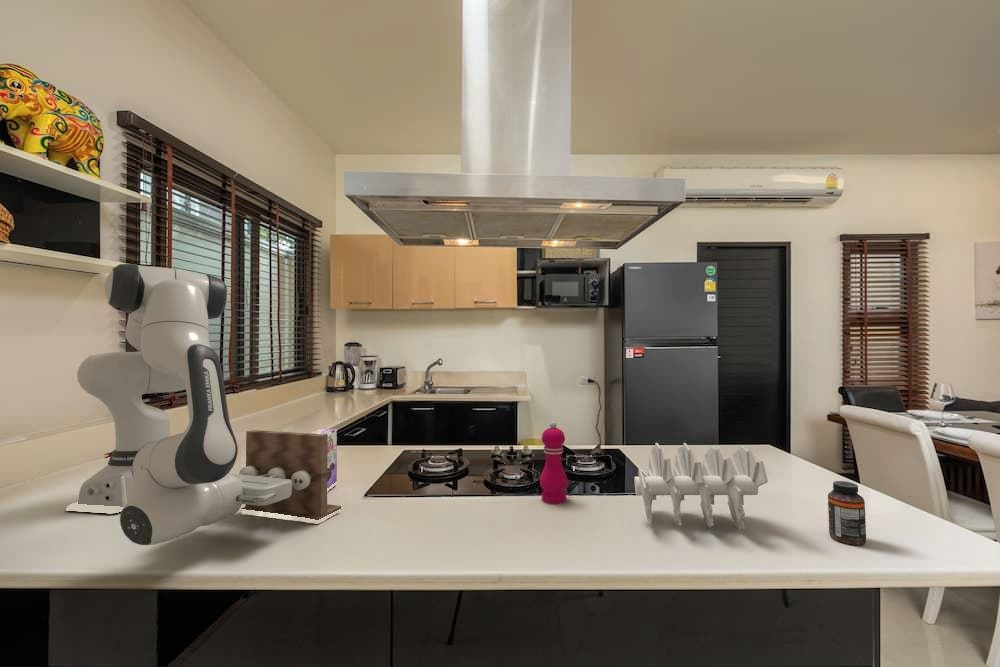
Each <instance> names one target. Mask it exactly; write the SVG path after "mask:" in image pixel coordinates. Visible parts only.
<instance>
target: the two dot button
mask: <svg viewBox="0 0 1000 667" xmlns="http://www.w3.org/2000/svg"><path fill="white" fill-rule="evenodd" d="M311 479H312V473H310V474H308V472H306V471H304V470H301V471H298V472H296V473H294V474H293V475H292V477H291V481H292V486H293V488H294V489H296V490H302V489H304V488H307V487H308V486H309V484H310V480H311Z"/></svg>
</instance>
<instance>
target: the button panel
mask: <svg viewBox="0 0 1000 667" xmlns="http://www.w3.org/2000/svg"><path fill="white" fill-rule="evenodd" d="M310 433H311V432H309V433H308V432H307V433H305V432H293V431H277V430H275V431H273V430H260V429H259V430H258V429H252V430H246V435H245V437H246V438H245V439H246V440H245V441H246V442H245V467H247V466H254V467H255V468H256V470H257V469H260V468H261V474H259V475H258V476H261V475H266V474H268V472H269V470H271V469H273V468H276V467H281V468H282V469H284V471H286V479H290V480H291V477H292V475H293V474H294V473H296V472H298V471H301V470H304V471H306V472H308V474H310V473H312V479H311V480H310V484H309V486H308V487H307V488H304V489H302V490H296V489H294V488H293V486H292V494H291V496H290V497H289V498H287V499H284V500H281V501H278V502H275V503H272V504H269V505H264V506H255V505H247V504H244V505H245V506H244V507H241V510H242V509H246V510H255V511H263V512H270V513H278V514H284V515H291V516H297V517H305V518H310V519H315V520H319V519H321V518H323V517H325V516H327V515H329V514H331V513H333V512H335V511H337V510H339V509H341V510H342V506H341V505H336V504H330V503H329V504H328V493H327V463H328V435H327V434H310Z"/></svg>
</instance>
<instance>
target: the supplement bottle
mask: <svg viewBox="0 0 1000 667" xmlns="http://www.w3.org/2000/svg"><path fill="white" fill-rule="evenodd" d="M832 485H833V486H832V488H833V489H832V490H831V491H830V492H828V493H827V500H828V501H827V505H828V506H827V510H828V511H827V512H828V532H829V536H830V538H831V539H833V540H834V541H836V542H839V543H842V544H845V545H851V546H861V545H865V544H866V542H867V525H866V524H867V522H866V503H865V502H866V501H865V499H864V497H862V495H860V494H859V493H858V492H859V485H858V484H857V483H854V482H851V481H844V480H836V481H833V483H832Z"/></svg>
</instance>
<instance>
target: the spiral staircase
mask: <svg viewBox="0 0 1000 667" xmlns="http://www.w3.org/2000/svg"><path fill="white" fill-rule="evenodd" d="M709 447H710V449H709V450H707V451H706V453H705V454H704V459H703V460H702V462H701V461H699V462H698V461H697V457H696V453H695V450H694V448H693V446H690V448H689V446H688V444H687V443H686V442H683V446H680V447H678V449H677V452H678V453H676V454H675V460H674V466H675V467H673V471H672V464H671V458H667V455H666V452H665V448H664V445H663V444H662V445H660V444H659V443H658V442H655V446H653V447H652V448H651V451H650V452H651V454H648V455H649V456H648V457H649V459H648V468H649V469H647V470H646V471H647V476H646V474H645V473H643V471H642V467H641V466H638V468H637V469H638V470H637V472H638V476H634V479H633V480H634V490H635V495H636V496H642V501H643V503H644V504H643V505H644V509H645V516H646V520H647V522H648V523H649V524H653V517H652V516H653V515H652V514H653V513H652V512H653V510H652V506H653V501H657V496H670V497H671V501H672V505H673V506H672V507H673V514H674V520H675V522H676V524H677V525H679V526H682V518H681V517H682V516H681V514H682V512H681V503H682V501H685V496H700V504H699V505H700V508H701V511H702V515H703V520H704V522H705V525H706V526H707V528H708V529H709V528H710V529H709V530H712V527H713V526H714V520H713V507H712V506H713V505H715V496H727V499H728V500H727V506H728V509H729V512H730V516H731V519H732V521H733V523H734V524H735V526H736V528H737V530H738V529H741V530H742V529H745V528H746V527H745V523H744V522H745V521H744V518H745V515H746V514H745V510H744V504H745V503H744V497H745V496H757V495H758V494H759V487H760V486H762V485H765V484H766V483H769V481H768V475H767V472H766V467H765V464H764V461H761V460H760V461H759V459H758V458H757V456H756V454H755V452H754V449H753V447H749V448H748V449H747V448H745V447H744V446H743V445H739V449H737V450H735V451H734V452H733V453H732V458H730V457H727V458H726V456H725V454H724V451H723V449H722V447H721V446H717V448H715V446H714V445H710V446H709Z"/></svg>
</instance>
